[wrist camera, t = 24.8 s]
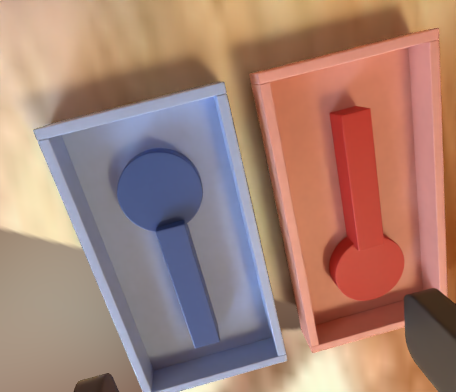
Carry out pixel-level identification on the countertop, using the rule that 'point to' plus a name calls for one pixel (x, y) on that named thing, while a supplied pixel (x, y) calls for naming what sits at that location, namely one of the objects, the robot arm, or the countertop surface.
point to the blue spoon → (172, 228)
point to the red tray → (329, 182)
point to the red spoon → (361, 212)
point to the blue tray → (149, 245)
